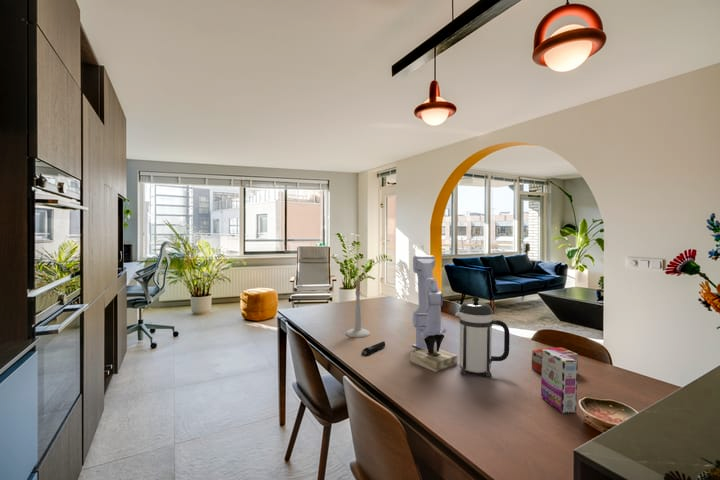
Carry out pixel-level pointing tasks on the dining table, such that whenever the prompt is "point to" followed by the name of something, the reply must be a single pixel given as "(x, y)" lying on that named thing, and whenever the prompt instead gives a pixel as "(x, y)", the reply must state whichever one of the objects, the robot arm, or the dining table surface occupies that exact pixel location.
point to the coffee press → (478, 337)
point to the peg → (434, 350)
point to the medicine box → (538, 357)
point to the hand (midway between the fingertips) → (433, 352)
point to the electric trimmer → (373, 348)
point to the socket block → (433, 359)
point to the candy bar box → (559, 380)
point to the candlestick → (357, 318)
